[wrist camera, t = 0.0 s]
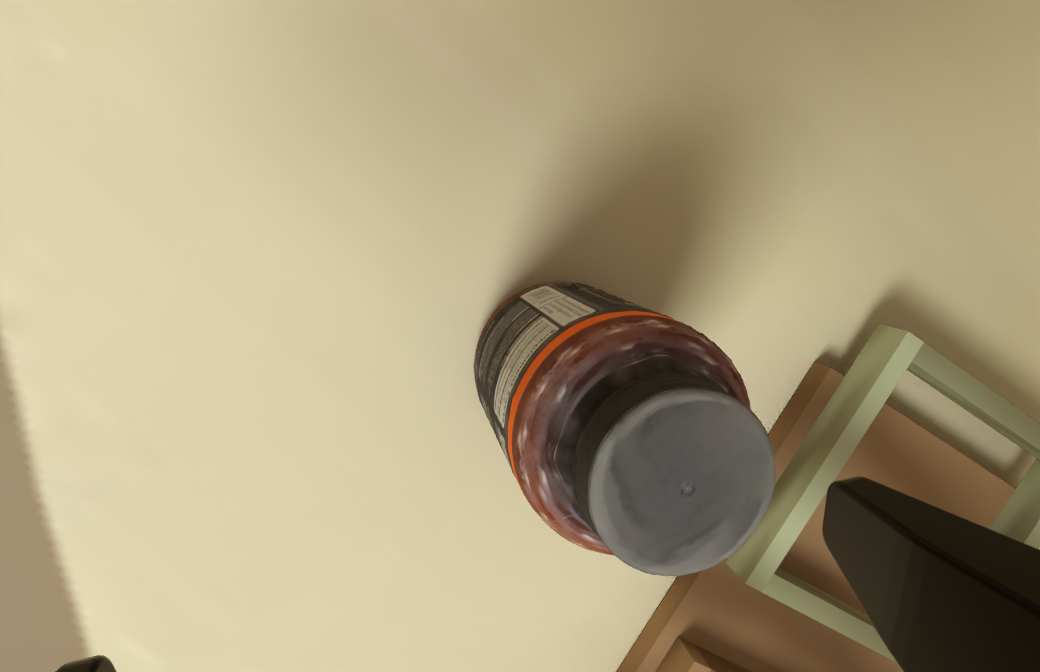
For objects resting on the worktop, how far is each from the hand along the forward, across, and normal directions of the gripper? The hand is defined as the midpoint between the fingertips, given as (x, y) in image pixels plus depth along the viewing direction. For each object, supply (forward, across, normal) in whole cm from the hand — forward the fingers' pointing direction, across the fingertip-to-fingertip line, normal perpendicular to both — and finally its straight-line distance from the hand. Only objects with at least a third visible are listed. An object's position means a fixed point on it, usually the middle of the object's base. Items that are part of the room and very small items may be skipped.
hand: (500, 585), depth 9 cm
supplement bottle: (+15, -4, +5) cm, 16 cm away
